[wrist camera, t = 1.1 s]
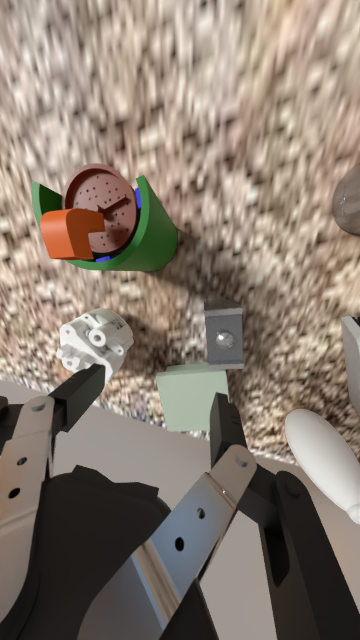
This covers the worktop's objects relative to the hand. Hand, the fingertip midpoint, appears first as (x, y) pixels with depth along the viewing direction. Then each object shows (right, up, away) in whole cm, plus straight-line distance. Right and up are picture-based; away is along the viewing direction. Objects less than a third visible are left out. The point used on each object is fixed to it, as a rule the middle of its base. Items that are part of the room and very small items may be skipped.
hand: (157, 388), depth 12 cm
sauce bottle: (+25, -14, +23) cm, 36 cm away
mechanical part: (-12, +2, +23) cm, 26 cm away
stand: (+5, -9, +23) cm, 25 cm away
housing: (+9, +4, +19) cm, 22 cm away
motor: (-4, +18, +17) cm, 25 cm away
